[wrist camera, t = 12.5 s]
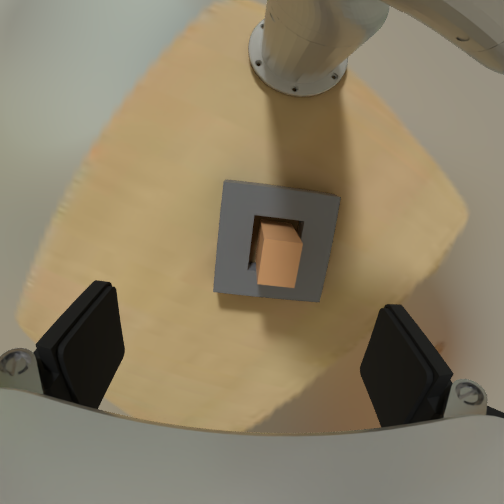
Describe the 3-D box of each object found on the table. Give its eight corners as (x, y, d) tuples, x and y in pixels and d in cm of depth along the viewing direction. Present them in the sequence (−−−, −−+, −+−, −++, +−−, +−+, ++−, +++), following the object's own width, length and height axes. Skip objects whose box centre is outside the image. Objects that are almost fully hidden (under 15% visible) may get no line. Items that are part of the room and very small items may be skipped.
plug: (260, 219, 39) (264, 238, 31) (291, 223, 40) (303, 243, 31) (255, 256, 41) (257, 284, 32) (285, 259, 41) (294, 288, 33)
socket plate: (225, 179, 38) (223, 181, 35) (334, 194, 38) (340, 197, 35) (215, 282, 42) (213, 291, 39) (315, 292, 43) (319, 302, 40)
